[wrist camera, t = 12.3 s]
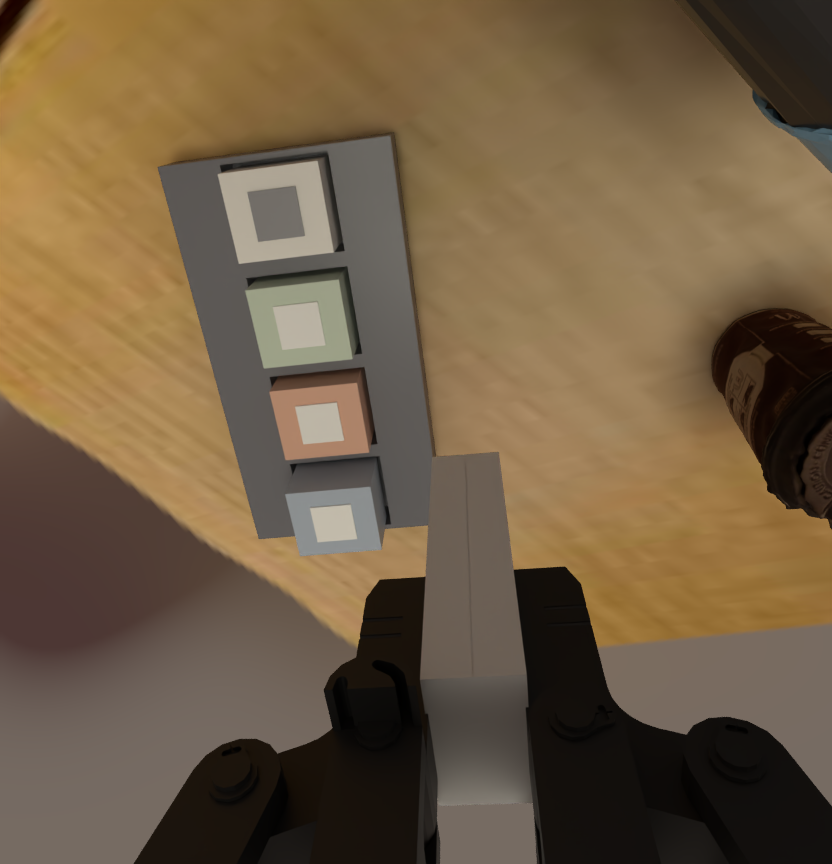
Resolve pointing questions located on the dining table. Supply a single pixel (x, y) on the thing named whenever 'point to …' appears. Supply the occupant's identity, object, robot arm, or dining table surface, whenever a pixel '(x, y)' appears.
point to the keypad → (377, 351)
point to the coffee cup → (782, 401)
